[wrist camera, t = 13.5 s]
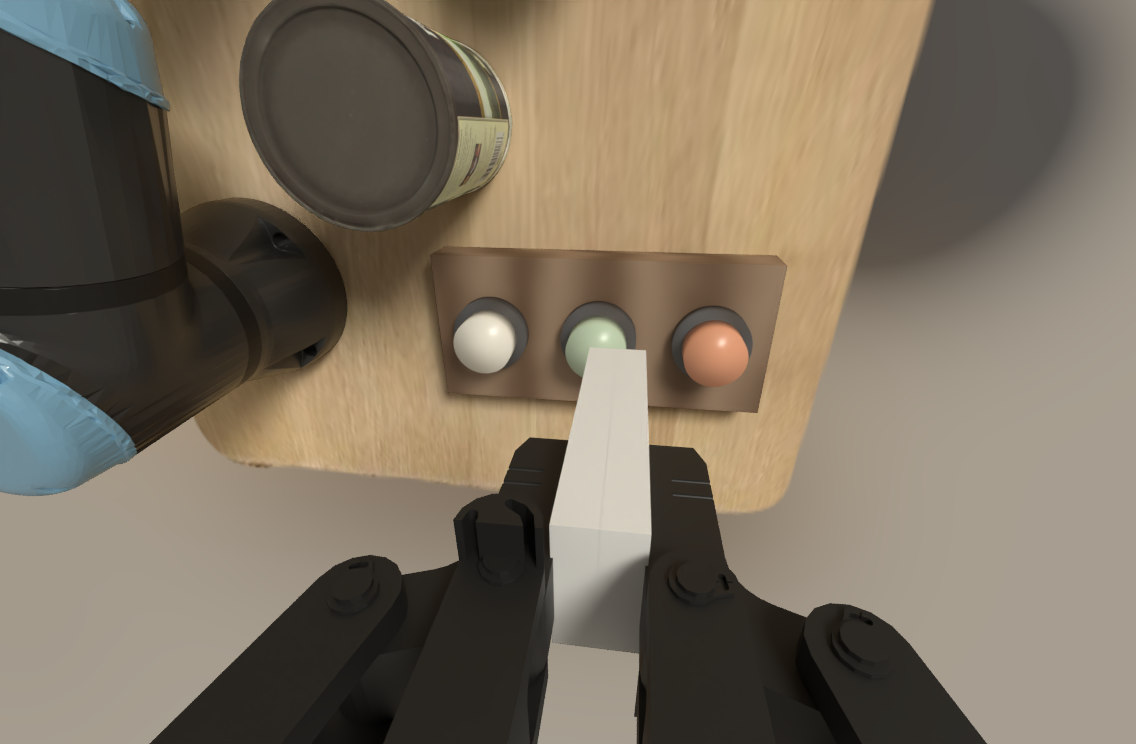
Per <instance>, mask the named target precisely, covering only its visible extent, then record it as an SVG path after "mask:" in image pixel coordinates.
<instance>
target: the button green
mask: <svg viewBox="0 0 1136 744" xmlns="http://www.w3.org/2000/svg"><path fill="white" fill-rule="evenodd" d="M590 347H591V348H611V349H626V347H627V340H626V336H625V333H624V331H623V329H622V328H621V326H620V325H619V324H618V323H617V322H615V321H614V320H612V319H610V318H608V317H605V316H589V317H586V318H584V319H582V320H580V321H579V322H578V323H577V324H576V325H575V326H574V327H573V329H572V331H571V333H570V336H569V339H568V342H567V345H566V350H565V354H566V360H567V362H568V364H569V366H570V367H571V369H572V370H573V371H574V372H575V373H576V374H578V375H579V376H581V377H583V375H584V371H585V366H586V362H587V357H588V353H589V349H590Z"/></svg>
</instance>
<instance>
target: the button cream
mask: <svg viewBox="0 0 1136 744" xmlns="http://www.w3.org/2000/svg"><path fill="white" fill-rule="evenodd" d="M516 343H517V336H516V331H515V329H514V327H513V325H512V324H511V322H510V321H509V320H508V319H507V318H506V317H504V316H503V315H501V314H499V313H497V312H495V311H490V310H482V311H478V312H475V313H473V314H472V315H470V316H469V317H468V318H467V319H466V320H465V321H464V323H463V324H462V325H461V326H460V327H459V328H458V329H457V331H456V333H455V335H454V341H453V344H454V350H455V353H456V355H457V357H458V358H459V360H460V361H461V362H462V363H463V364H464V365H465V366H466V367H467V368H469V369H471V370H473V371H475V372H479V373H493V372H496V371H499V370H500V369H502V368H503V367H504V366H505V365H506V364H507V362H508V360H509V359H510V357H511V355H512V353H513V352H514V350H515V347H516Z"/></svg>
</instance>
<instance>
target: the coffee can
mask: <svg viewBox="0 0 1136 744" xmlns="http://www.w3.org/2000/svg"><path fill="white" fill-rule="evenodd" d="M239 88H240V97H241V104H242V111H243V115H244V119H245V122H246V126H247V129H248V132H249V134H250V137H251V140H252V142H253V144H254V146H255V148H256V150H257V152H258V154H259V156H260V158H261V160H262V162H263V163H264V165H265V166H266V168H267V169H268V171H269V172H270V174H271V175H272V176H273V178H274V179H275V180H276V182H277V183H278V184H279V185H280V186H281V187H282V188H283V189H284V190H285V192H286V193H287V194H288V195H289V196H291V197H292V198H293V199H294V200H295V201H296V202H297V203H298V204H300V205H301V206H302V207H304V208H305V209H306V210H308V211H309V212H311V213H312V214H314V215H316V216H317V217H319V218H321V219H323V220H325V221H327V222H329V223H332V224H334V225H337V226H340V227H343V228H346V229H352V230H357V231H367V232H375V231H384V230H388V229H392V228H396V227H399V226H401V225H404V224H406V223H408V222H410V221H412V220H414V219H415V218H417V217H418V216H420V215H421V214H422V213H424V212H425V211H428V210H430V209H432V208H434V207H437V206H439V205H441V204H443V203H446V202H448V201H450V200H452V199H454V198H457V197H459V196H461V195H464V194H468V193H471V192H473V191H476V190H478V189H479V188H481V187H483V186H484V185H485V184H487V183H488V182H489V181H490V180H491V179H492V178H493V177H494V176H495V175H496V173H497V172H498V171H499V169H500V167H501V166H502V164H503V162H504V160H505V158H506V155H507V152H508V149H509V145H510V140H511V131H512V118H511V112H510V106H509V102H508V98H507V95H506V92H505V90H504V88H503V85H502V83H501V81H500V80H499V78H498V76H497V75H496V73H495V72H494V70H493V69H492V67H491V66H490V65H489V63H488V62H487V61H486V60H485V59H484V58H483V57H482V56H480V55H479V54H478V53H477V52H476V51H474V50H473V49H471V48H470V47H468V46H466V45H464V44H462V43H460V42H458V41H455V40H452V39H450V38H448V37H446V36H444V35H442V34H440V33H438V32H436V31H434V30H432V29H430V28H428V27H426V26H424V25H423V24H421V23H419V22H417V21H415V20H414V19H412V18H410V17H408V16H406V15H404V14H402V13H401V12H400V11H398V10H397V9H396V8H394V7H393V6H392V5H390V4H389V3H388V2H386V1H384V0H272V1H271V2H270V3H269V4H268V5H267V6H266V7H265V9H264V10H263V11H262V12H261V13H260V14H259V16H258V17H257V18H256V20H255V21H254V23H253V25H252V27H251V29H250V31H249V33H248V36H247V38H246V42H245V45H244V48H243V52H242V57H241V61H240V73H239Z"/></svg>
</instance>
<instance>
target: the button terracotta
mask: <svg viewBox="0 0 1136 744" xmlns="http://www.w3.org/2000/svg"><path fill="white" fill-rule="evenodd" d="M682 356H683V361H684V366H685V369H686V372H687V373H688V375H689V376H690V377H691V378H692V379H693V380H694V381H695V382H697V383H699V384H701V385H704V386H708V387H720V386H724V385H727V384H730V383H732V382H733V381H735V380H736V379H738V378H739V377H740V376H741V375H742V373H743V372H744V371H745V369H746V367H747V364H748V358H749V356H748V350H747V347H746V345H745V343H744V341H743V339H742V337H741V335H740V333H739V331H738V330H737V329H736V328H735V327H734V326H732V325H731V324H729V323H727V322H724V321H719V320H710V321H705V322H702V323H700V324H698V325H696V326H695V327H693V328H692V329H691V330H690V331H689V332H688V333H687V335H686V336H685V338H684V340H683V343H682Z"/></svg>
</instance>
